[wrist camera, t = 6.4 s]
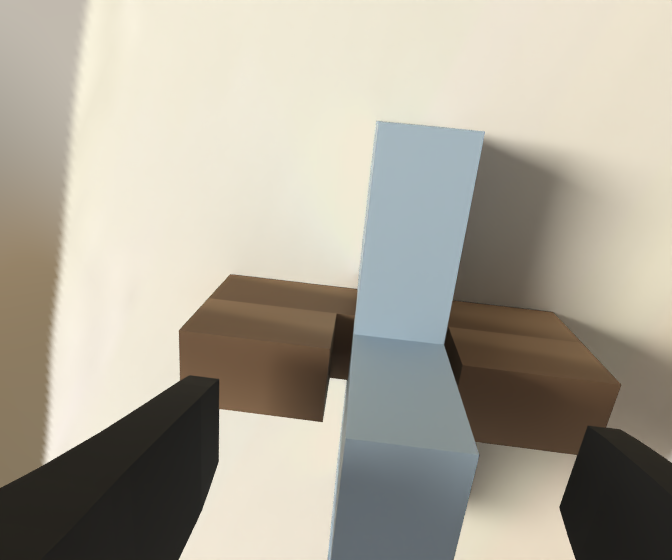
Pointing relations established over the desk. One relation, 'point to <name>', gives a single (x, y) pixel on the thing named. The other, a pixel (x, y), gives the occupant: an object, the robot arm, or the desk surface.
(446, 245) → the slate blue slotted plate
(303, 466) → the desk surface
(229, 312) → the brown notched wooden bar
